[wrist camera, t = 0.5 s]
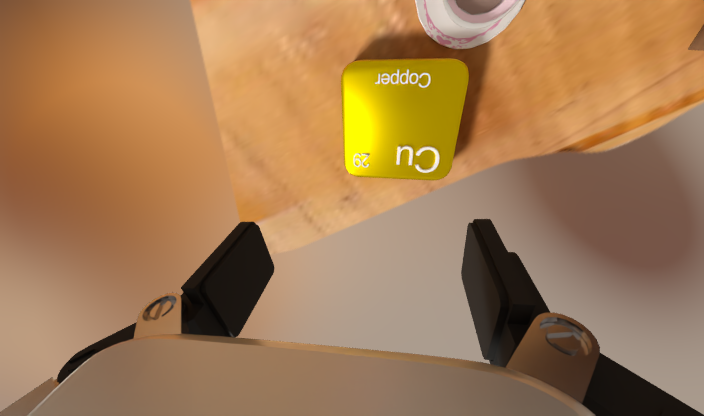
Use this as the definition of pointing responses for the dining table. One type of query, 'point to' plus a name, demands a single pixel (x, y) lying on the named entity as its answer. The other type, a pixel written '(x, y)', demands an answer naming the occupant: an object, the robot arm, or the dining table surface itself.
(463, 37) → the teacup
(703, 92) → the dining table surface
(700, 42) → the walnut upright plate
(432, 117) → the element tile
